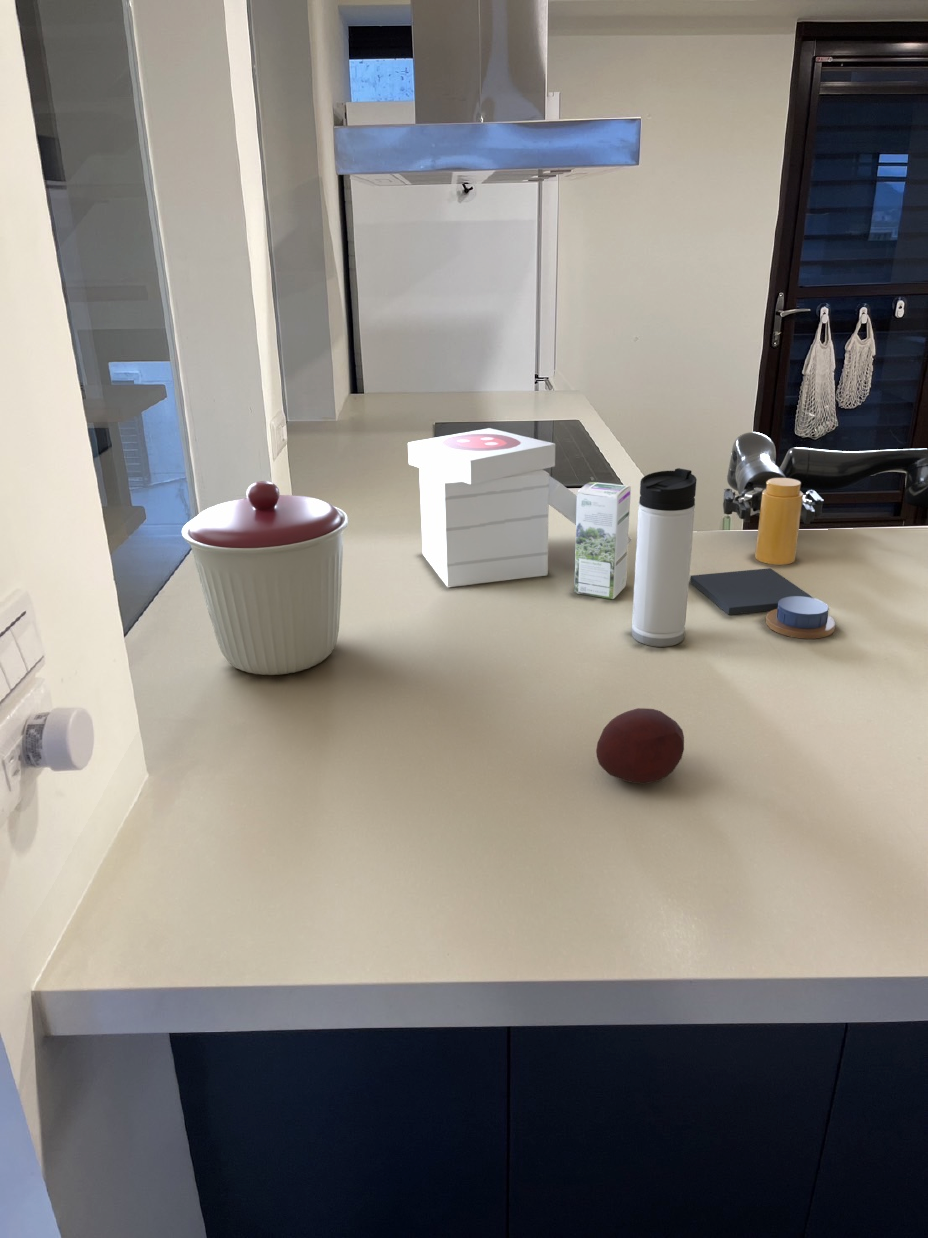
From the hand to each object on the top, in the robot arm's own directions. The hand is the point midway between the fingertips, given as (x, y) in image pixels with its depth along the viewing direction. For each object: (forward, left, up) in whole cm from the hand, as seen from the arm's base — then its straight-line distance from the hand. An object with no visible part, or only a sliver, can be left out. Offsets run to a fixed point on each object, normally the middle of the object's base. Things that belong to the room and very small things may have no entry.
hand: (778, 516), depth 133 cm
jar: (0, +1, -6) cm, 6 cm away
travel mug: (+27, +23, -6) cm, 37 cm away
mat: (+10, +13, -6) cm, 18 cm away
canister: (+72, +18, -6) cm, 75 cm away
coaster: (+9, +24, -6) cm, 27 cm away
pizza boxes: (+37, -8, -6) cm, 39 cm away
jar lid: (+9, +24, -4) cm, 26 cm away
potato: (+40, +51, -6) cm, 66 cm away
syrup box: (+29, +7, -6) cm, 31 cm away
